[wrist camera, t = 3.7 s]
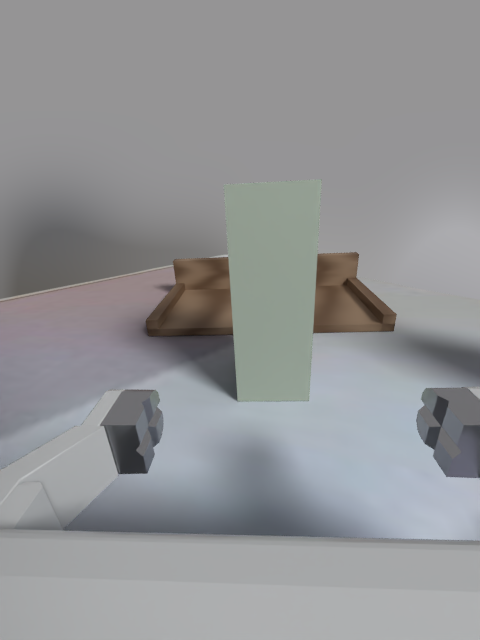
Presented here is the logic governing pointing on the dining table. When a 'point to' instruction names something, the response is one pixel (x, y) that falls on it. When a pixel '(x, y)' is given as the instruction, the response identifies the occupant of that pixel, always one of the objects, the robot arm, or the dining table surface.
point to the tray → (216, 310)
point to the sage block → (273, 285)
